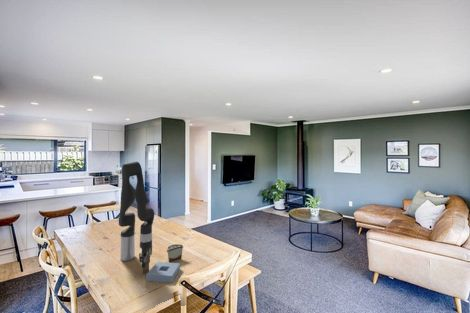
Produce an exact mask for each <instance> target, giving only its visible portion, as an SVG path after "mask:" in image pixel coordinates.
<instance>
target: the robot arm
mask: <svg viewBox="0 0 470 313" xmlns="http://www.w3.org/2000/svg"><path fill="white" fill-rule="evenodd" d="M133 176H136V186H135V187H134V186H133V185H132V184H131V182H130V179H131V177H133ZM148 199H149V198H148V195H147V191H146V188H145V181H144V175H143V169H142V165H141V164H140V162H139V161H131V162H130V161H129V162H125V163H123V165H122V167H121V191H120V209H119V215H118V225H119V227H123V228H124V227H127V228H125V229H122V230H121V232H120V261H122V262H128V261H131V260H133V259H135V250H136V249H135V246H136V245H135V244H136V243H135V240H136V238H135V235H136V234H135V232H136V231H135V228H136V227H135V226H136V214H137V218H138V220H139V221H141V222H142V223H141V225H140V230H139V231H140V232H139V233H140V234H139V248H140V249H141V253H138V259H139V263H141V268H142V269H143V268H145V260H146V258H147V254H148V253H149V264H150V262H151V255H152V254H153V223H154V220H155V211H154V209H153V208H151V207H147V205H148V204H149V200H148ZM134 202H136V206H137V207H136V210H137V211H136V214H135V212H127V211H128V210H129V209H130V207H132V206H133V204H134ZM146 207H147V208H146ZM144 256H145V257H144Z"/></svg>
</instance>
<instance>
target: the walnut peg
mask: <svg viewBox="0 0 470 313" xmlns="http://www.w3.org/2000/svg"><path fill="white" fill-rule="evenodd" d="M144 257H145V256H144ZM141 271H142V274H145V275H146V274H147V273H148V272H149V271H150V263H149V253H148V254H147V258H146V260H145V268H142V270H141Z"/></svg>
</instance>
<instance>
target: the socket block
mask: <svg viewBox="0 0 470 313" xmlns="http://www.w3.org/2000/svg"><path fill="white" fill-rule="evenodd" d="M180 270H181V262H180V263H179V262H171V263H169V262H165V261H164V262H163V261H156V263H154V265H153V266H152V267H151V268H149V272H148V273H146V274H145V280H146V282H156V283H157V282H159V283H160V282H161V283H173V281H174V279H175V278H176V277H177V275H178V273H179V271H180Z"/></svg>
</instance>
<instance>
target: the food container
mask: <svg viewBox="0 0 470 313" xmlns="http://www.w3.org/2000/svg"><path fill="white" fill-rule="evenodd" d="M183 249H184V245H183V244H177V243H176V244H171V245H169V246H168V247H167V248H166V252H167V257H168V259H167V260H168V263H176V262H177V261H180V260H182V257H183V256H182V255H183Z"/></svg>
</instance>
